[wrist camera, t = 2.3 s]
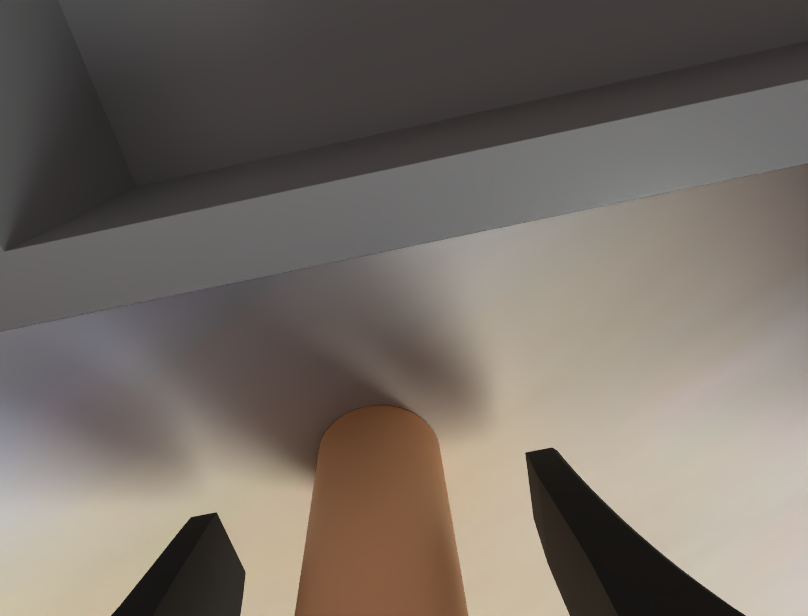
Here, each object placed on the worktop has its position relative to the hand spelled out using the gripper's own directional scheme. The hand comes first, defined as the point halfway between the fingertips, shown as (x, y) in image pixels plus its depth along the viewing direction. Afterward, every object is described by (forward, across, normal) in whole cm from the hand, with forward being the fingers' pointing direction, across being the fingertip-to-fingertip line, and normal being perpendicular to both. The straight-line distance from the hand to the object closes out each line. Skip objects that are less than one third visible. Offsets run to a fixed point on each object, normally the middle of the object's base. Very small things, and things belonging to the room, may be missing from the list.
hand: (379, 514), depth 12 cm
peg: (+2, 0, 0) cm, 2 cm away
